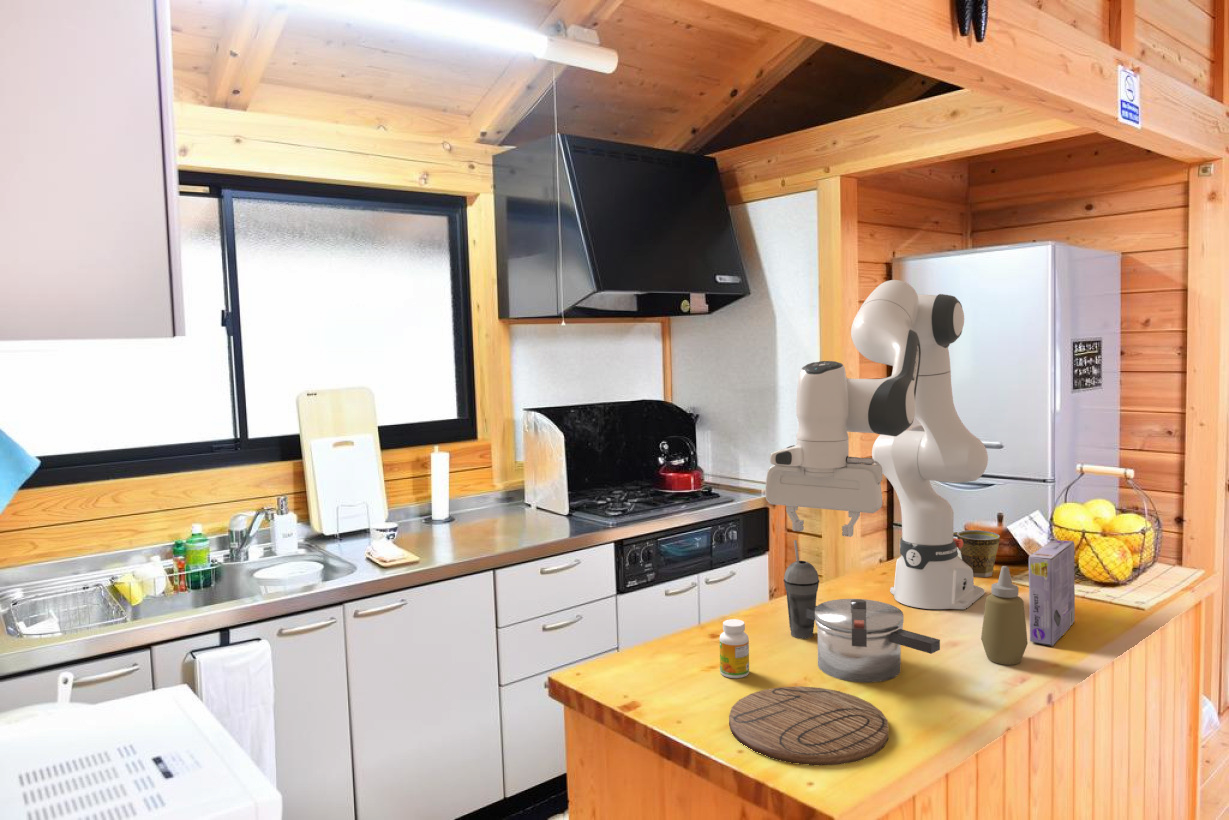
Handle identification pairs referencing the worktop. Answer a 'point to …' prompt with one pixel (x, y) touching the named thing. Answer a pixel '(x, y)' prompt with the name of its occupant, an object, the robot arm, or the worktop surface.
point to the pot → (866, 652)
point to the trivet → (809, 725)
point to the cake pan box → (1051, 591)
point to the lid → (859, 617)
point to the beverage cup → (801, 595)
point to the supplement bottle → (734, 649)
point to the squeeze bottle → (1004, 622)
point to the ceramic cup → (979, 550)
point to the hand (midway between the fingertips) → (822, 533)
